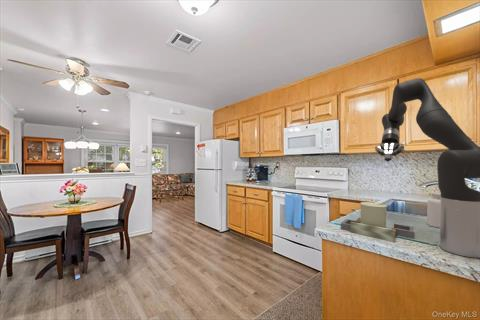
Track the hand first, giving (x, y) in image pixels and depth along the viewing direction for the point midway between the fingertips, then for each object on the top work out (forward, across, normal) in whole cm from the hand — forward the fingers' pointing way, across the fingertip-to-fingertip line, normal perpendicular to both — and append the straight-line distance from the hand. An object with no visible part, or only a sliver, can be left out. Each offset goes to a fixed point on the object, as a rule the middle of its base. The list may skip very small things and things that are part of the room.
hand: (387, 160), depth 102 cm
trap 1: (+40, -11, +2) cm, 42 cm away
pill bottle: (+18, +19, +24) cm, 36 cm away
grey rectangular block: (+40, -2, +3) cm, 40 cm away
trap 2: (+35, +7, +7) cm, 37 cm away
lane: (+38, -2, +4) cm, 38 cm away
